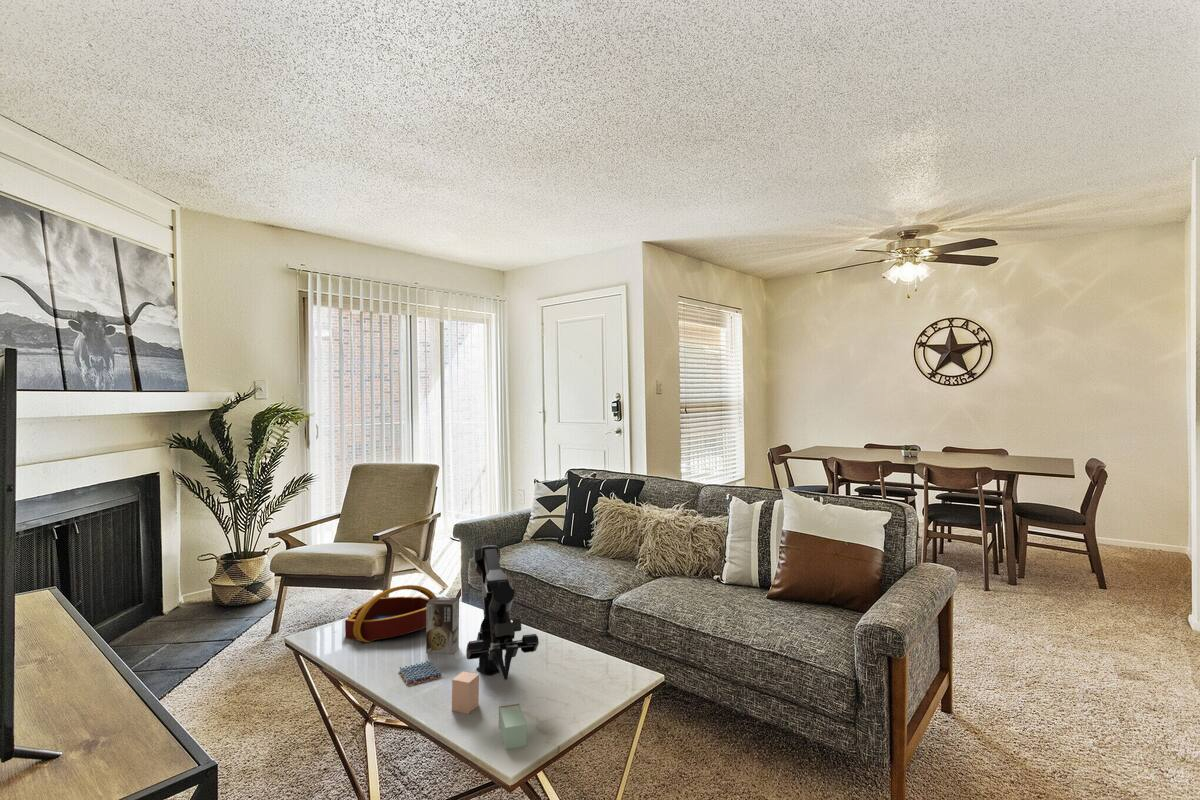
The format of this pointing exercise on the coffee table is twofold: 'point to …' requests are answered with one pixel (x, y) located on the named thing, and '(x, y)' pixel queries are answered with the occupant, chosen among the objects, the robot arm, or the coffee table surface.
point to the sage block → (512, 726)
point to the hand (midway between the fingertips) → (505, 679)
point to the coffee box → (442, 625)
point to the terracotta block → (465, 692)
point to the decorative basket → (388, 615)
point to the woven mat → (420, 673)
